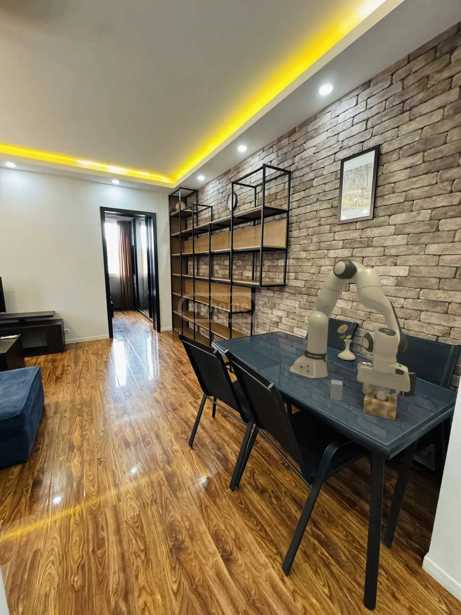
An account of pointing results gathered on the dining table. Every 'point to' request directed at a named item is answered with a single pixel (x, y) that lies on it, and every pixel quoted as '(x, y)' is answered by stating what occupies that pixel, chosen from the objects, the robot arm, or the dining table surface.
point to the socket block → (380, 406)
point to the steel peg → (381, 394)
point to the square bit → (336, 390)
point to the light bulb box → (374, 388)
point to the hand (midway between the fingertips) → (381, 395)
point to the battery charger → (411, 384)
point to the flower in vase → (346, 353)
